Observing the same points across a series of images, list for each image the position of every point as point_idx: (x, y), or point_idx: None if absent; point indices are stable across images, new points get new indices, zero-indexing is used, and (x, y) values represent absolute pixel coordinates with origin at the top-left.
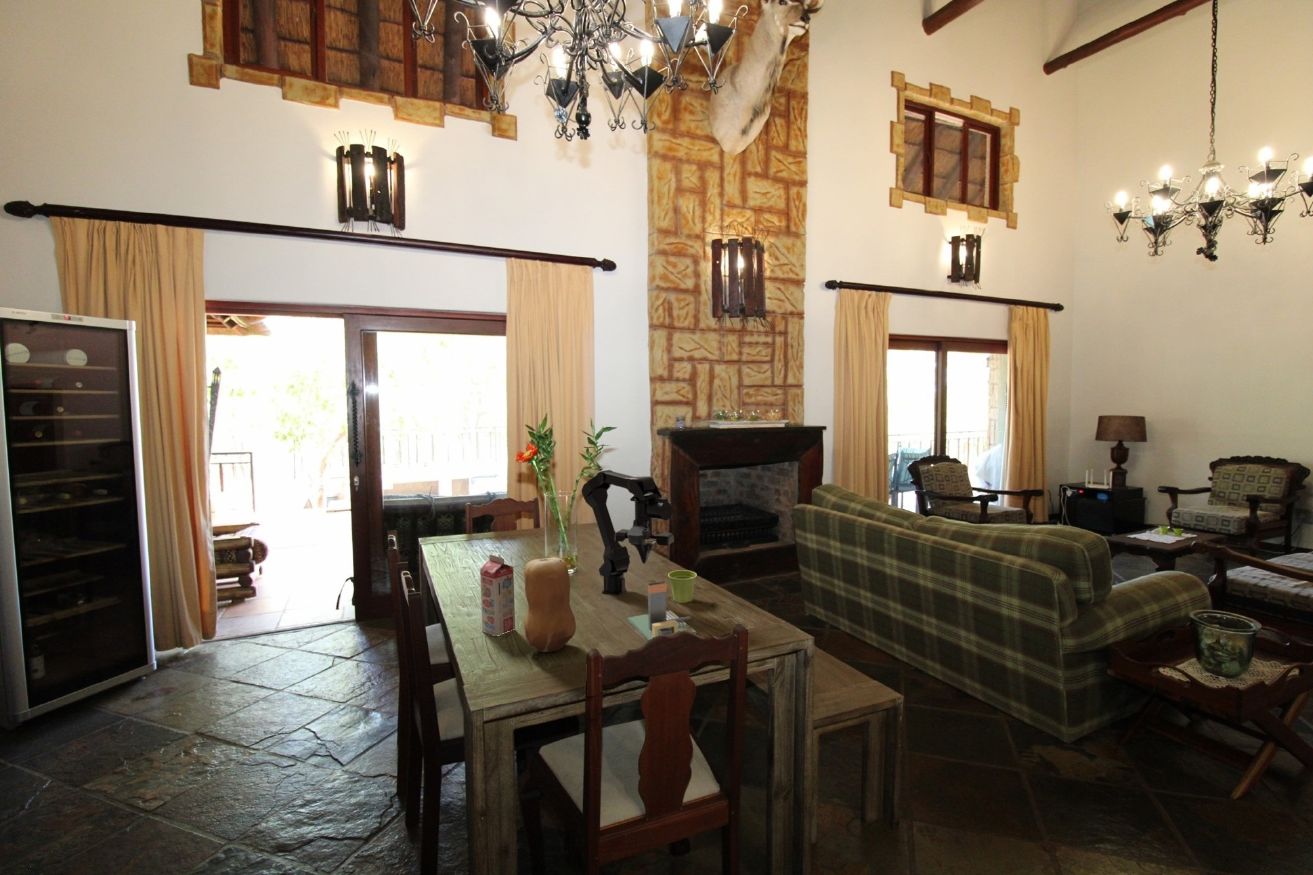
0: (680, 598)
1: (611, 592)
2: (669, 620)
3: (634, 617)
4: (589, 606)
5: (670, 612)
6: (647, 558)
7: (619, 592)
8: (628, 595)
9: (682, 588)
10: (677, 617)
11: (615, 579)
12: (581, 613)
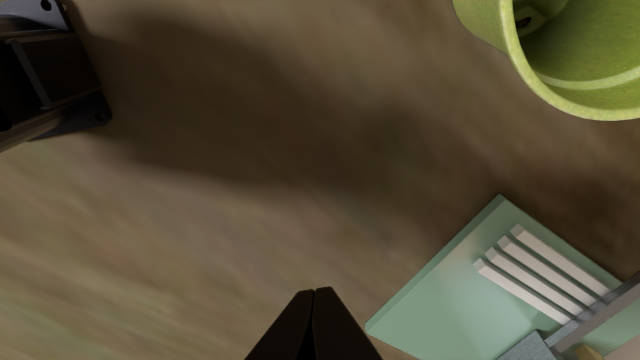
0: (533, 46)
1: (59, 125)
2: (568, 340)
3: (390, 320)
4: (131, 293)
5: (533, 248)
6: (353, 324)
7: (94, 99)
8: (160, 86)
9: (605, 59)
10: (579, 275)
11: (12, 138)
12: (169, 350)
